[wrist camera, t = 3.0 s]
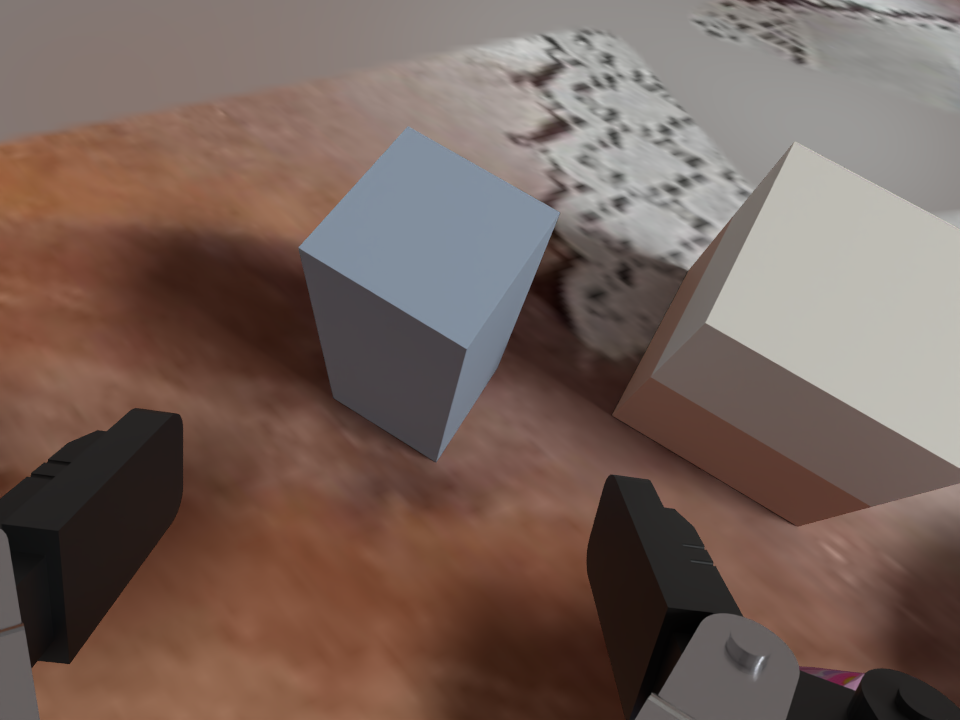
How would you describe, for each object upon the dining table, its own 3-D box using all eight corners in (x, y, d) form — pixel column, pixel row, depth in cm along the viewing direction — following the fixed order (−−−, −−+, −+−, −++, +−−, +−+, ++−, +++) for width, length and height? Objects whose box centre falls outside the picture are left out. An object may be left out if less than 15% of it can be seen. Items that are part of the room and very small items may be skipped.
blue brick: (333, 398, 24) (298, 248, 14) (401, 309, 25) (408, 126, 16) (436, 462, 23) (466, 349, 14) (497, 367, 25) (560, 212, 16)
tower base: (611, 415, 25) (705, 322, 17) (688, 270, 28) (794, 141, 21) (797, 526, 24) (977, 478, 17) (854, 363, 27) (1025, 264, 20)
